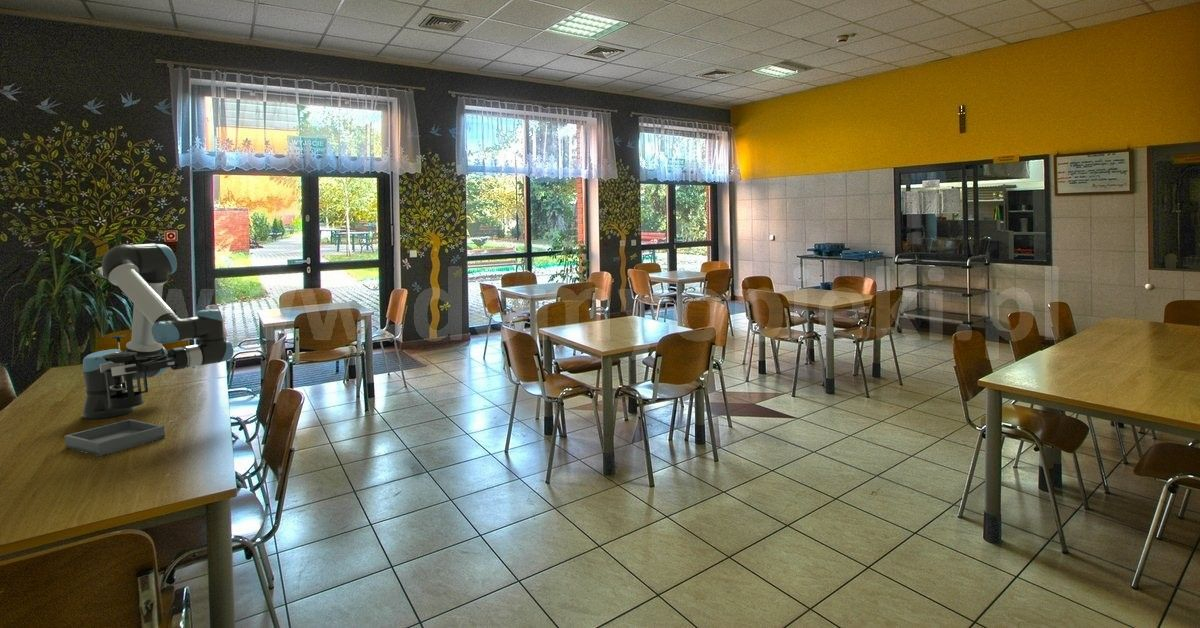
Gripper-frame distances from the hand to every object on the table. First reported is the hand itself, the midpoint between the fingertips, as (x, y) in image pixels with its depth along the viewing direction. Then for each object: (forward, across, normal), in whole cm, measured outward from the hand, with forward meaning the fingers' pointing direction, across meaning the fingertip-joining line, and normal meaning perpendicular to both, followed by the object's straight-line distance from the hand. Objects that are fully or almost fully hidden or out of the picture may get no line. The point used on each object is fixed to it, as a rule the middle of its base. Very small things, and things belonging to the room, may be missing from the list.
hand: (106, 370), depth 202 cm
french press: (-5, 0, -13) cm, 14 cm away
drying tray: (0, -1, -24) cm, 24 cm away
